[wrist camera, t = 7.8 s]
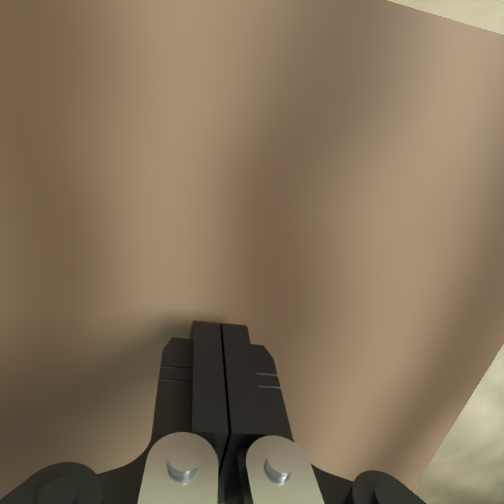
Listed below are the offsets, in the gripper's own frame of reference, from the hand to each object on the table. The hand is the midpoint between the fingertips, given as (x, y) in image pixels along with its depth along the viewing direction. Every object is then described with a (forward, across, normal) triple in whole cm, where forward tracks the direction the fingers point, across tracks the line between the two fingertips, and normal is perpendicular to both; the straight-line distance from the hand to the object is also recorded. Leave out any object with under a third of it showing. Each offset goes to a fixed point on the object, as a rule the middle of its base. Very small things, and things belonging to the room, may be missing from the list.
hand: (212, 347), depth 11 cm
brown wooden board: (+4, -2, 0) cm, 5 cm away
